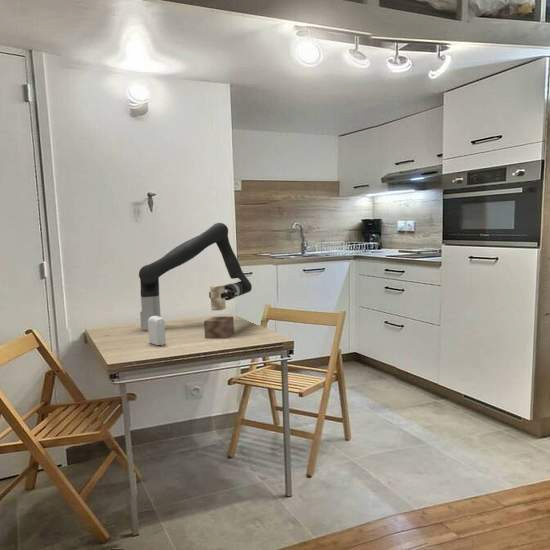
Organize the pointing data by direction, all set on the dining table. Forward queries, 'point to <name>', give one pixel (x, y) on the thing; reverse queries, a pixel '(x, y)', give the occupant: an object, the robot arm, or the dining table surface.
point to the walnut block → (218, 327)
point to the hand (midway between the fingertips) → (216, 296)
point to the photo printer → (156, 330)
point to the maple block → (217, 297)
